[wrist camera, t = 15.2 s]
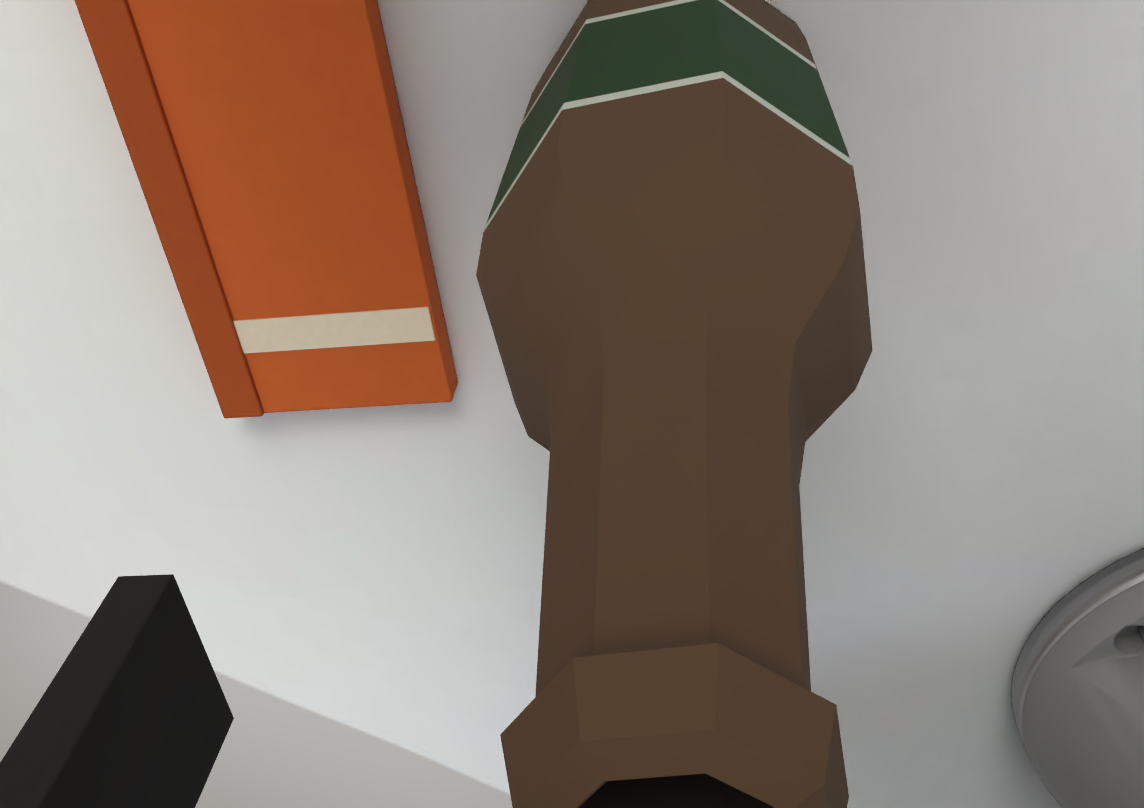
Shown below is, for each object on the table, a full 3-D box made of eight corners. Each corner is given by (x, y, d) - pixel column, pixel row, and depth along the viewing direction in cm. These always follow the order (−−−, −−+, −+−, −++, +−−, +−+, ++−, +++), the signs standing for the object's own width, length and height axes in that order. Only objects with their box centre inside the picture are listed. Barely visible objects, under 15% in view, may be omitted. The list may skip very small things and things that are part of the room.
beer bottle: (484, 58, 31) (127, 756, 11) (722, -114, 28) (844, 402, 8) (636, 267, 34) (580, 1104, 14) (864, 132, 31) (1208, 945, 11)
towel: (458, 382, 37) (451, 405, 36) (234, 396, 38) (220, 419, 37) (309, -322, 26) (292, -322, 25) (2, -275, 27) (-29, -273, 26)
